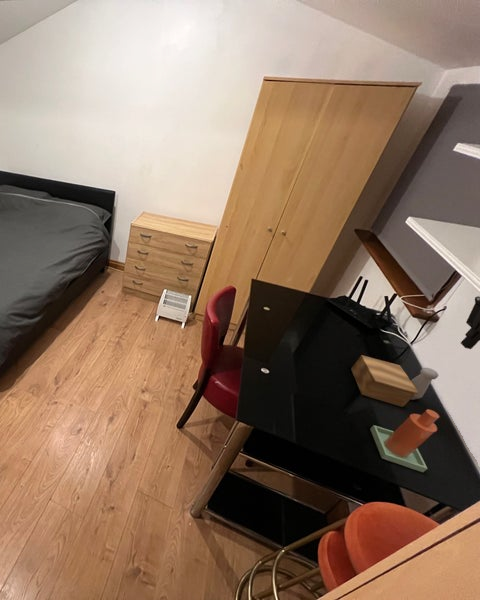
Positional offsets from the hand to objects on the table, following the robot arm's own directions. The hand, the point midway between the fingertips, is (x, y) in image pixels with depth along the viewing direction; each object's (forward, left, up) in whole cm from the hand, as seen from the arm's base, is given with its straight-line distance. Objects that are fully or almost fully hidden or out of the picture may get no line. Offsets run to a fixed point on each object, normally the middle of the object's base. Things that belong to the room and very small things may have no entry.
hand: (465, 346), depth 104 cm
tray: (-29, +15, -26) cm, 41 cm away
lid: (+1, +12, -19) cm, 22 cm away
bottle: (-29, +15, -26) cm, 41 cm away
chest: (+1, +12, -26) cm, 29 cm away
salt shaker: (+2, +1, -27) cm, 26 cm away
